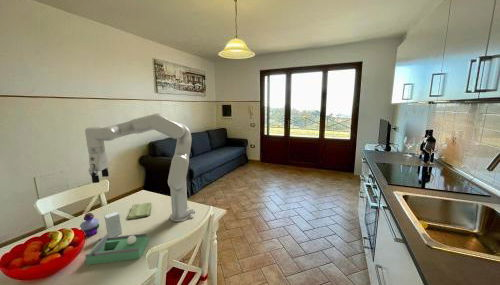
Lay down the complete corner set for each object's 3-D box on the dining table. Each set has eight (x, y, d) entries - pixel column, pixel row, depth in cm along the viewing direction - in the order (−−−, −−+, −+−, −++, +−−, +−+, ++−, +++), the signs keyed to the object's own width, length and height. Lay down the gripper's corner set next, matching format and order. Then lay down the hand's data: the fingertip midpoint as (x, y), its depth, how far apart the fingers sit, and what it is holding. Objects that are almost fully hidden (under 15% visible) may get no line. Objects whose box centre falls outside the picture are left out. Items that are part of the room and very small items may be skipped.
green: (147, 241, 108) (146, 230, 107) (139, 258, 96) (138, 246, 95) (101, 247, 104) (99, 235, 103) (86, 264, 92) (84, 252, 91)
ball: (137, 240, 103) (137, 233, 102) (135, 245, 99) (134, 238, 98) (129, 241, 102) (128, 234, 101) (125, 246, 98) (124, 239, 97)
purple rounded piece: (102, 233, 115) (99, 214, 113) (82, 240, 109) (79, 220, 107) (99, 227, 121) (96, 208, 119) (80, 233, 115) (77, 213, 113)
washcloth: (127, 221, 128) (126, 216, 128) (132, 208, 145) (132, 203, 144) (150, 217, 132) (149, 212, 132) (153, 204, 149) (152, 200, 148)
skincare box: (119, 230, 118) (116, 211, 116) (122, 233, 115) (119, 213, 113) (106, 235, 113) (104, 215, 111) (109, 238, 110) (106, 218, 108)
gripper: (95, 153, 106) (99, 184, 109) (111, 146, 122) (115, 174, 126) (78, 153, 105) (84, 185, 108) (98, 146, 121) (102, 174, 124)
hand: (101, 179), depth 117 cm, fingers open, 9 cm apart
